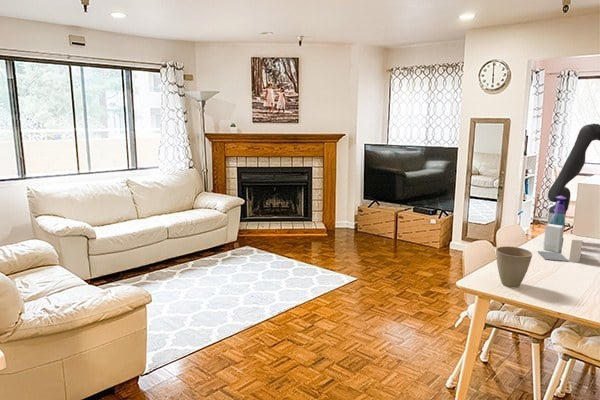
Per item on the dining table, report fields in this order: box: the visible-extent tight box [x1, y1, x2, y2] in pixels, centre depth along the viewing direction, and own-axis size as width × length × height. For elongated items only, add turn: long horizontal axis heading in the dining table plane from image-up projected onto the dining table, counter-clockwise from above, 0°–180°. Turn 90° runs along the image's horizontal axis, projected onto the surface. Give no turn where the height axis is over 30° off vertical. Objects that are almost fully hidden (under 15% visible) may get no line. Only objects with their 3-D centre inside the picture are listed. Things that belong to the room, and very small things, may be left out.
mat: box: [537, 250, 570, 263], centre depth 245 cm, size 14×11×1 cm
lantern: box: [550, 196, 566, 245], centre depth 265 cm, size 13×12×30 cm
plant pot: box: [495, 245, 533, 288], centre depth 203 cm, size 15×15×16 cm
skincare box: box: [542, 223, 565, 253], centre depth 256 cm, size 8×6×15 cm
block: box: [560, 233, 583, 263], centre depth 242 cm, size 12×5×12 cm, turn 167°
